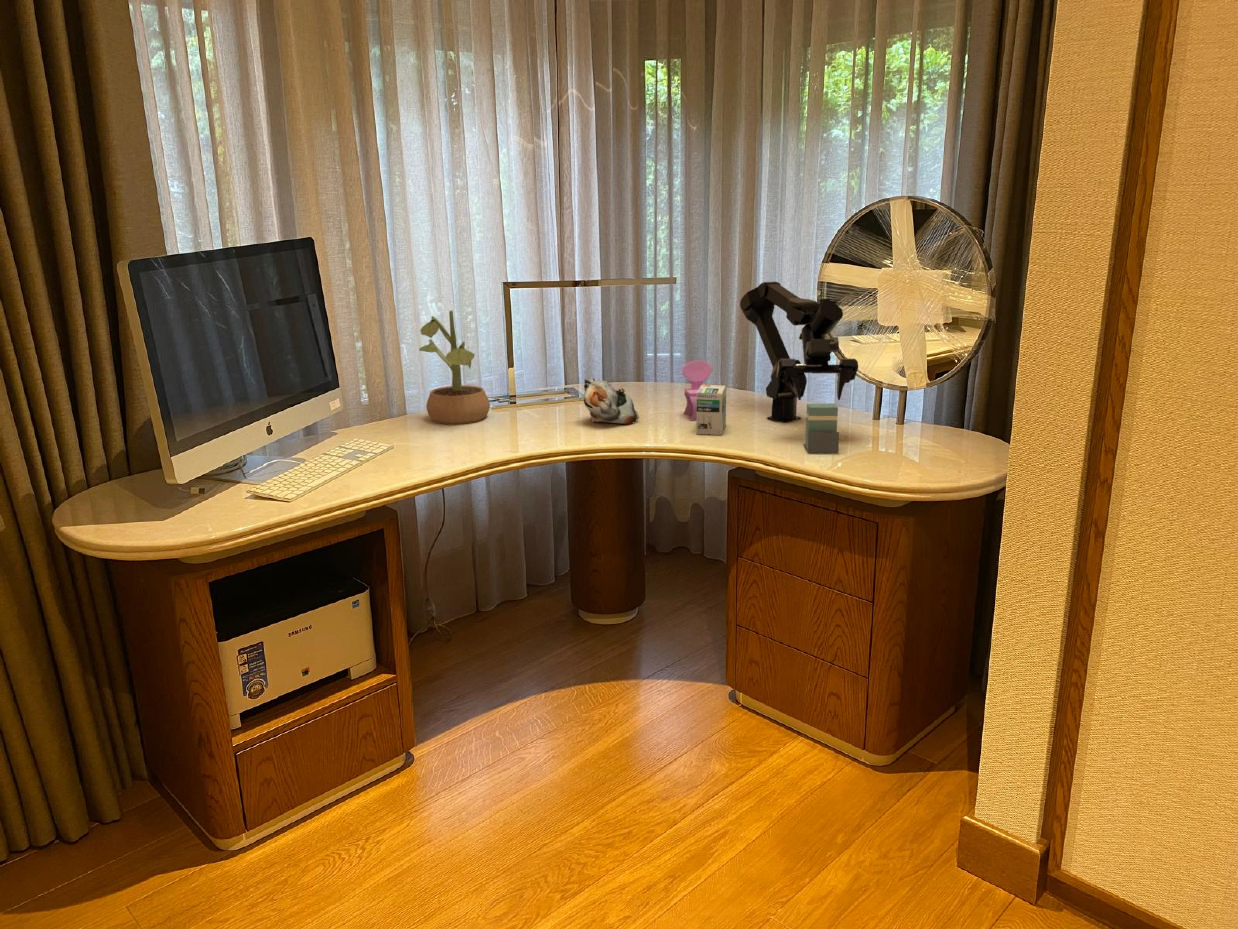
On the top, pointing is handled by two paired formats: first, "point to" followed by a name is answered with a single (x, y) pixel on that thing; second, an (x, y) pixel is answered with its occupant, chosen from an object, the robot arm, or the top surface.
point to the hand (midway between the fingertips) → (819, 399)
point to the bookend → (823, 442)
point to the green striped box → (821, 419)
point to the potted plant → (454, 382)
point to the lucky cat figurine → (608, 403)
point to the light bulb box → (711, 410)
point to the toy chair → (695, 383)
